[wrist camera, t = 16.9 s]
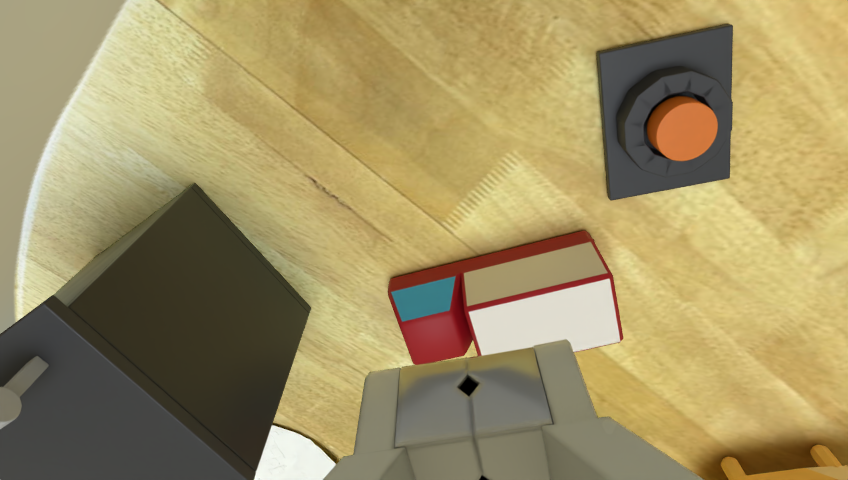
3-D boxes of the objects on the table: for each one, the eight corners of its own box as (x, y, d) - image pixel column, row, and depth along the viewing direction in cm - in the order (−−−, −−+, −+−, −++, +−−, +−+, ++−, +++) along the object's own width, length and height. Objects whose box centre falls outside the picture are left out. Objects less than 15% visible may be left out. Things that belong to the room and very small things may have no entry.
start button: (645, 102, 36) (655, 109, 34) (705, 90, 35) (718, 96, 34) (647, 157, 37) (657, 166, 36) (705, 146, 37) (718, 155, 35)
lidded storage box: (93, 258, 43) (-72, 408, 29) (195, 182, 40) (68, 306, 26) (212, 370, 48) (120, 546, 33) (311, 308, 45) (257, 471, 31)
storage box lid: (-86, 398, 29) (-173, 472, 25) (53, 293, 26) (-18, 358, 22) (120, 547, 33) (76, 630, 29) (256, 472, 31) (229, 553, 27)
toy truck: (388, 277, 44) (381, 329, 38) (587, 227, 42) (613, 273, 36) (409, 335, 46) (406, 392, 40) (598, 290, 44) (625, 343, 38)
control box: (596, 51, 36) (607, 58, 34) (728, 23, 35) (748, 28, 33) (607, 197, 41) (617, 211, 38) (725, 175, 40) (743, 188, 38)
